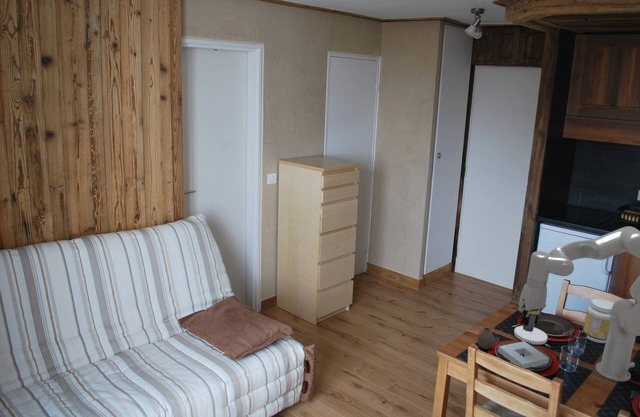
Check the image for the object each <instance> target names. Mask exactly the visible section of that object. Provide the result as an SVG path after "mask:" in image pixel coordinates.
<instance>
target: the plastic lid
mask: <svg viewBox="0 0 640 417" xmlns="http://www.w3.org/2000/svg"><path fill="white" fill-rule="evenodd" d="M513 334H514V336H515V338H517V339H518V340H520V341H521V342H523V341H526V343H527V342H529V343H528V344H530V343H531V344H530V345H544V344H546V343H547V342H548V334H546V333H545V332H544V331H543V330H541V329H539V328H537V327H534V329H533V331H532V332H528V331H525V330H524V329H523V325H520V326H516V327H515V328H514V332H513Z"/></svg>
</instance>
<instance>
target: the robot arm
mask: <svg viewBox="0 0 640 417" xmlns="http://www.w3.org/2000/svg"><path fill="white" fill-rule="evenodd" d="M625 252H626V253H629V254H630V255H632V256H635V257H636V258H640V230H639V229H637V228H636V227H633V226H623V227H620V228H618V229H616V230H613V231H611V232H609V233H606V234H603V235H600V236H598V237H595V238H592V239H585V240H579V241H578V240H577V241H573V242H568V243H565V244H563V245H561V246H558V247H555V248H554V249H552V250H551V251H550V252H549V253H548V252H545V251H541V250H540V251H538V250H537V251H534V252H532V253H531V255H530V256H531V257H530V261H529V268H528V272H527V278H526V282H525V284H524V285H523V287H522V290H521V294H520V297H519V301H518V308H517V311H519V312H520V313H521V321H520V322H521V323H520V324H522V325H523V324H524V325H525V326H528V323H529V317H528V316H529V312H530V311H531V310H536V309H537V310H540V312H539V314H537V315H536V319H535V324H534V326H535V325H537V324H538V322H539V321H538V320H539V316H540V315H541V312H543V310H544V309H545V308H546V307H547V303H546V302H547V296H548V295H547V294H548V287H547V286H548V282H549V275H550V274H552V275H555V276H558V277H559V276H560V277H568V276H570V275H571V274H572V273H573V272H574V270H575V267H574V263H573V261H574V260H579V259H592V260H595V261H596V260H597V261H604V260H606V259H609V258H612V257H614V256H616V255H619V254H622V253H625ZM629 294H630V295H631V297H632V298H633V300H634V301H635V302H636V303H635V302H634V301H632V300H630V299H627V298H622V299H618V300H616V301H615V302H614V304H613V306H612V309H611V316H610V326H609V331H608V335H607V340H606V343H604V348H603V354H602V358H601V361H599V362H597V363H596V365H595V370H596V371H597V373H598V374H599V375H601V376H603V377H604V378H606V379H608V380H612V381H615V382H627V381H629V380H630V379H631V376H632V375H631V373H630V371H629V370H630V369H631V368H634V367H635V365H636V364H635V362H633V361H631V357H632V353H633V349H634V345H635V342H636V337H638V336H639V337H640V274H639V275H638V276H637V277H636V279H635V281H634V282H633V283H632V284H631V287H630V288H629ZM525 310H527V313H526V312H525ZM630 361H631V362H630Z"/></svg>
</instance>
